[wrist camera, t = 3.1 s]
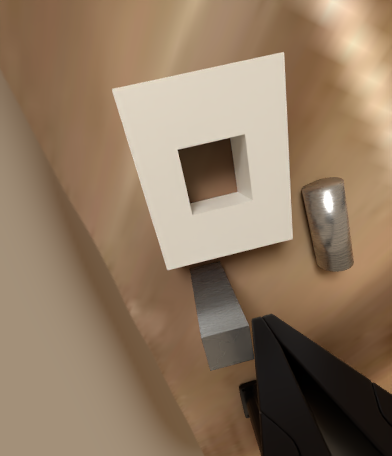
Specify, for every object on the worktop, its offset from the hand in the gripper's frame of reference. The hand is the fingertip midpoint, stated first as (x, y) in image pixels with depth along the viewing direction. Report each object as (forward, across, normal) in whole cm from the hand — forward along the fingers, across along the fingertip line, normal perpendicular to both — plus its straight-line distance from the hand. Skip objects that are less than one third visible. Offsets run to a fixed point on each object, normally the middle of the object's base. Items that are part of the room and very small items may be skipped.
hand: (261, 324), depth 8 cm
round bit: (+12, -10, +2) cm, 15 cm away
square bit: (+12, +1, +5) cm, 13 cm away
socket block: (+11, -1, -5) cm, 12 cm away
